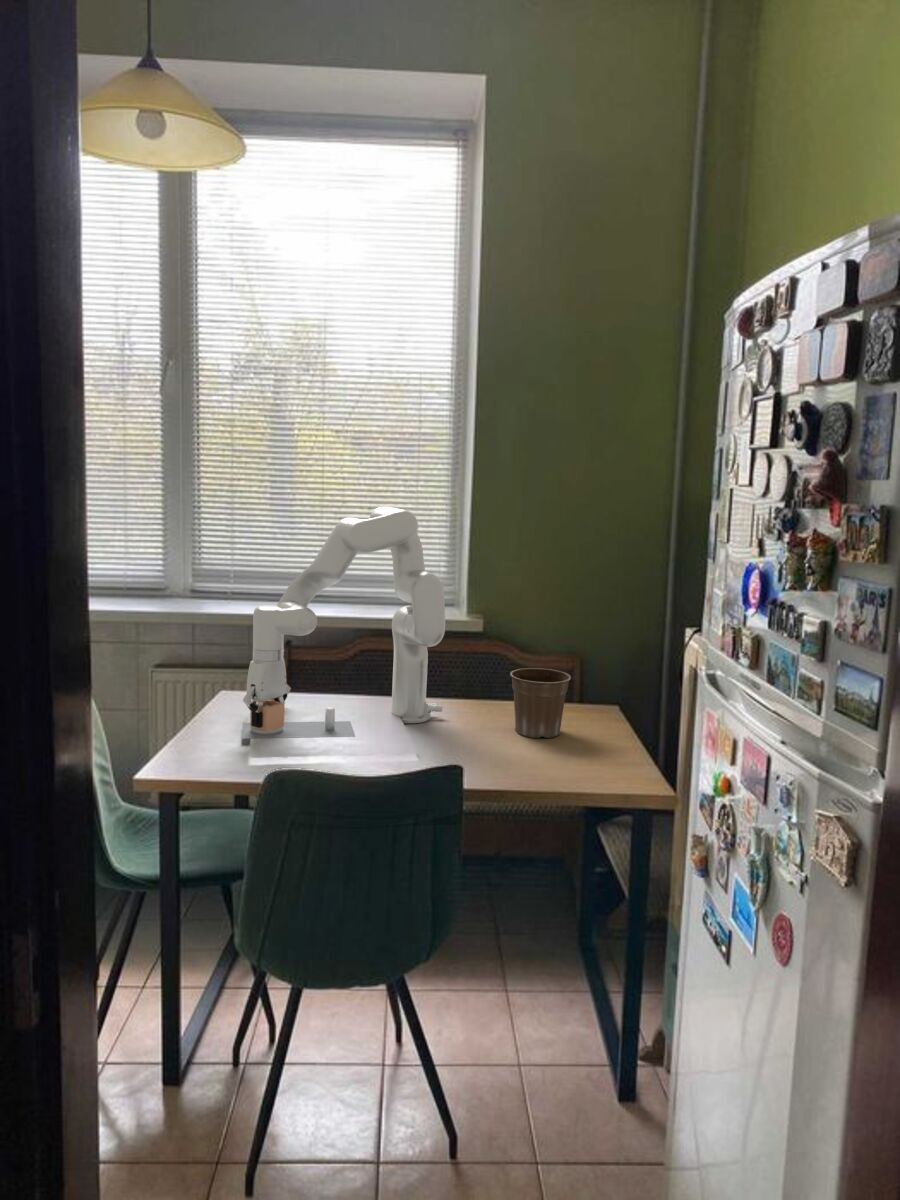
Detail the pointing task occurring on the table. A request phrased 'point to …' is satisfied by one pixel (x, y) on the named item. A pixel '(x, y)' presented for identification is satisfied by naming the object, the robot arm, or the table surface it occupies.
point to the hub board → (302, 729)
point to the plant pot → (539, 701)
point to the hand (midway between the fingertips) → (267, 722)
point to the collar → (271, 715)
